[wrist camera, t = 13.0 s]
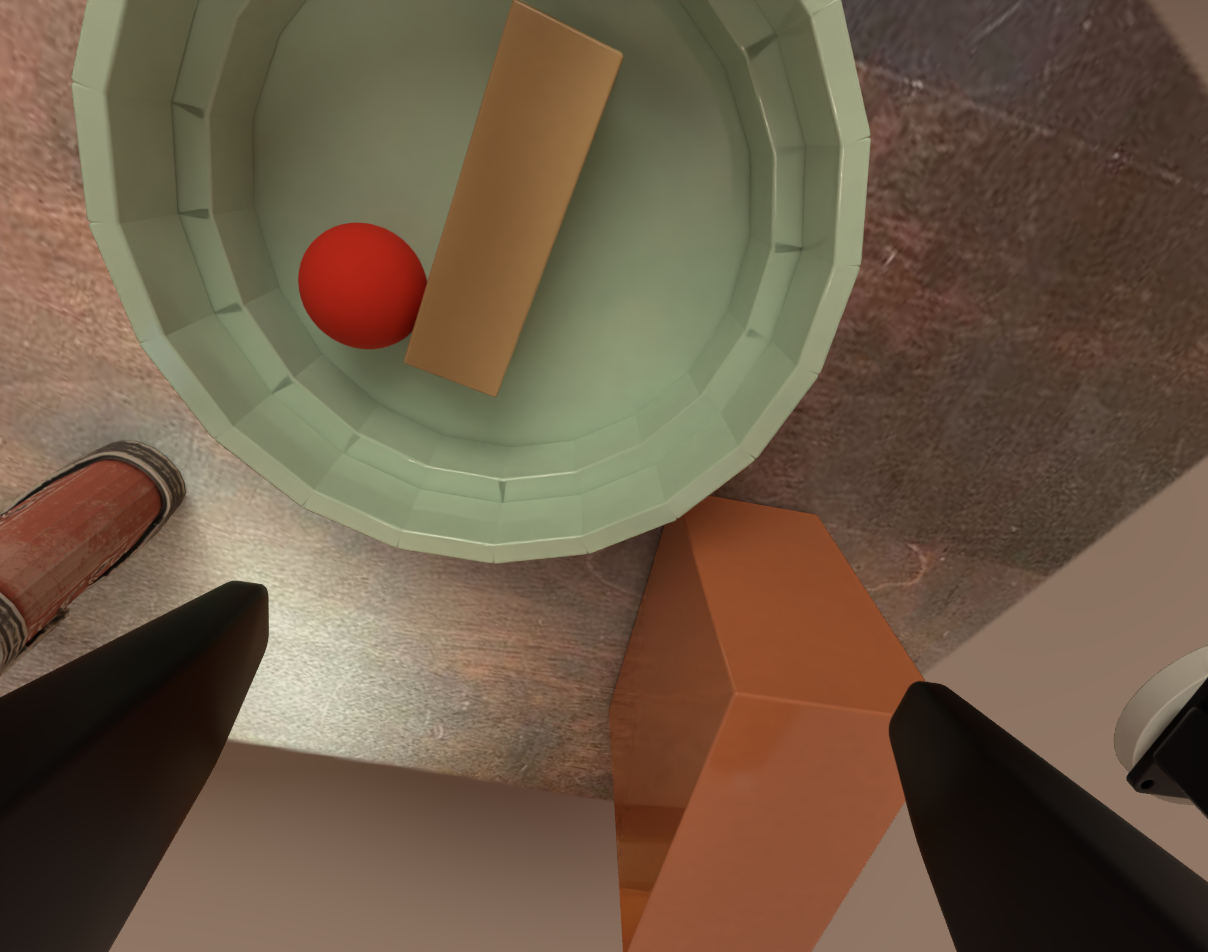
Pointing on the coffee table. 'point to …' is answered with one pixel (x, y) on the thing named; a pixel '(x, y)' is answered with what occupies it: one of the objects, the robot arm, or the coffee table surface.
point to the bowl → (417, 215)
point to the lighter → (77, 536)
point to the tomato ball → (362, 285)
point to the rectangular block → (751, 735)
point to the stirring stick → (511, 196)
